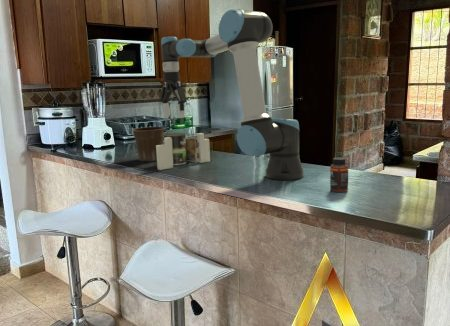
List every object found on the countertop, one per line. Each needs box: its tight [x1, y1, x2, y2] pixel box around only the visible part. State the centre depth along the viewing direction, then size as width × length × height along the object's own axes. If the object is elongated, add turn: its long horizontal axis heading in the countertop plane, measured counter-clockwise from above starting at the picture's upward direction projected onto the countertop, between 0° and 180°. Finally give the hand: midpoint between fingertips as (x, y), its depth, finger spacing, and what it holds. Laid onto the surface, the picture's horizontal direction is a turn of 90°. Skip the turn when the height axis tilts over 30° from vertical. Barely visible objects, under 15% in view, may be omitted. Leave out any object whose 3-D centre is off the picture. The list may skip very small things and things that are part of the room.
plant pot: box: [131, 126, 165, 163], centre depth 215 cm, size 16×16×16 cm
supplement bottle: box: [329, 157, 349, 193], centre depth 143 cm, size 6×6×11 cm
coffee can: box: [163, 132, 188, 166], centre depth 202 cm, size 10×10×14 cm
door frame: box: [156, 132, 211, 171], centre depth 197 cm, size 2×28×14 cm, turn 128°
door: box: [185, 137, 198, 162], centre depth 208 cm, size 13×3×11 cm, turn 63°
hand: (173, 117), depth 200 cm, fingers open, 13 cm apart
